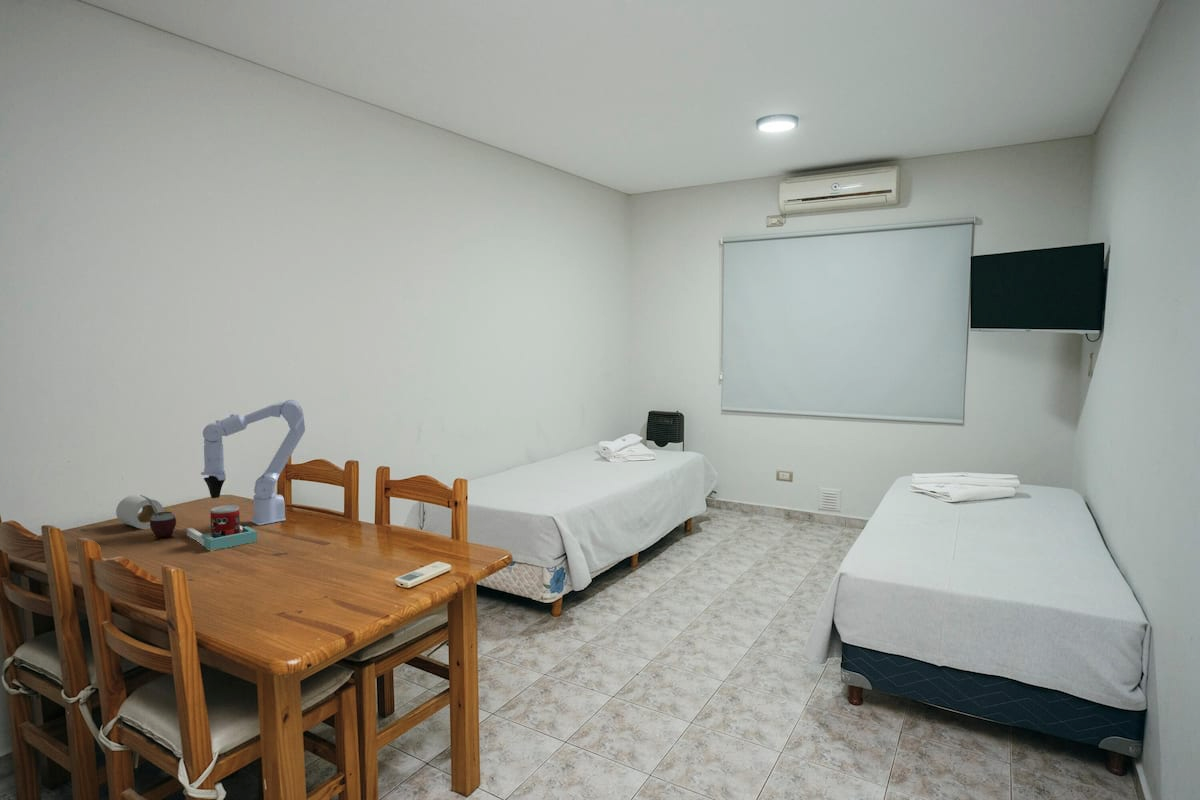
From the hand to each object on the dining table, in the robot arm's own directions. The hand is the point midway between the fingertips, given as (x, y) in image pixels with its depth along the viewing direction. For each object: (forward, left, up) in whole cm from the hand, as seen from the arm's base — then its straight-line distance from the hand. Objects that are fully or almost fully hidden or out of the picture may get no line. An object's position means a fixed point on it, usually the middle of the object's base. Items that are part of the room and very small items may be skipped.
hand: (215, 497), depth 228 cm
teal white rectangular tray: (+4, +17, -10) cm, 20 cm away
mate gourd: (+17, +3, -10) cm, 20 cm away
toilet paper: (+18, -17, -10) cm, 27 cm away
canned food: (+4, +21, -10) cm, 24 cm away
